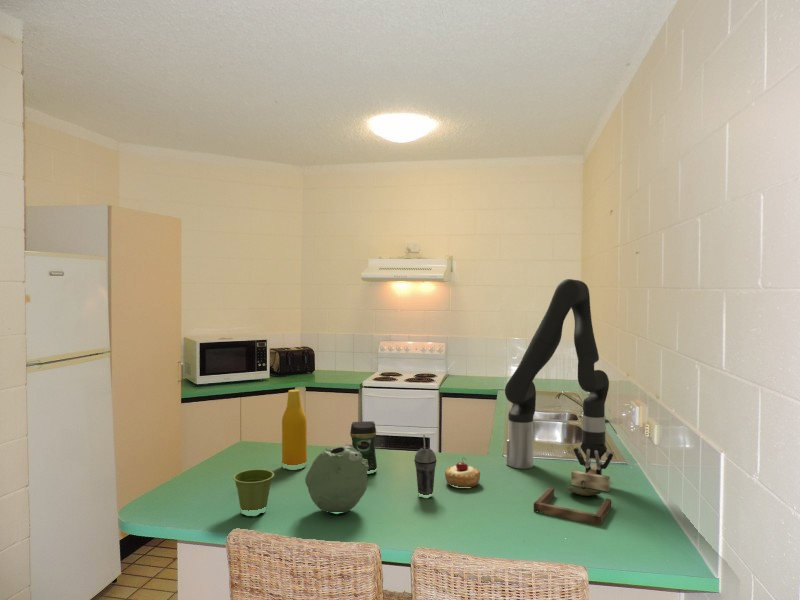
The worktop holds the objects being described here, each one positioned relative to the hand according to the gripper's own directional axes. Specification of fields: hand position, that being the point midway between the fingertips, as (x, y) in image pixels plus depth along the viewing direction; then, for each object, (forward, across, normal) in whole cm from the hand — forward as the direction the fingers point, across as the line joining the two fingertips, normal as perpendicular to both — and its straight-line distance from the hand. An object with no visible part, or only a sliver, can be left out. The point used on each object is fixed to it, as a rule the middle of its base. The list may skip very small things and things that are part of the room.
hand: (593, 478), depth 186 cm
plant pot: (+2, -80, -79) cm, 113 cm away
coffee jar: (+2, -74, -32) cm, 81 cm away
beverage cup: (+2, -43, -40) cm, 59 cm away
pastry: (+2, -38, -24) cm, 45 cm away
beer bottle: (+2, -100, -41) cm, 108 cm away
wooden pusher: (+1, 0, 0) cm, 1 cm away
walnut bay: (+2, 0, -26) cm, 26 cm away
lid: (+2, 0, -14) cm, 14 cm away
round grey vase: (+2, -59, -66) cm, 89 cm away
